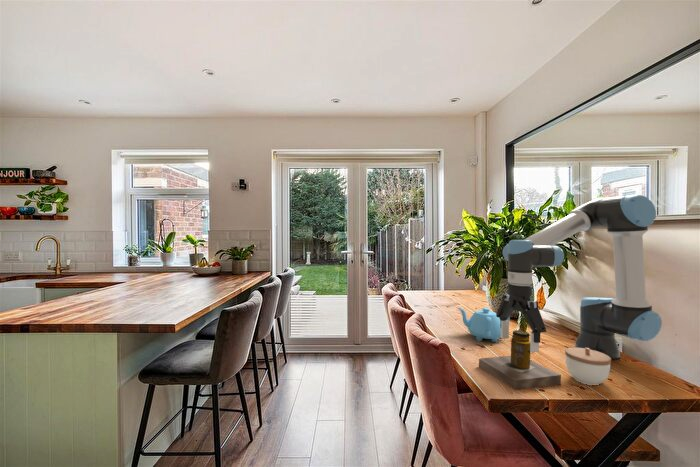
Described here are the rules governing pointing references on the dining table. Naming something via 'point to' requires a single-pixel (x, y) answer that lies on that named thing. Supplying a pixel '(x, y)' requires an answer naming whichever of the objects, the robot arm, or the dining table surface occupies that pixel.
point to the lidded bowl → (587, 365)
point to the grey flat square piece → (519, 373)
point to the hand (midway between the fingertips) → (518, 344)
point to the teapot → (483, 324)
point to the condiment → (520, 352)
